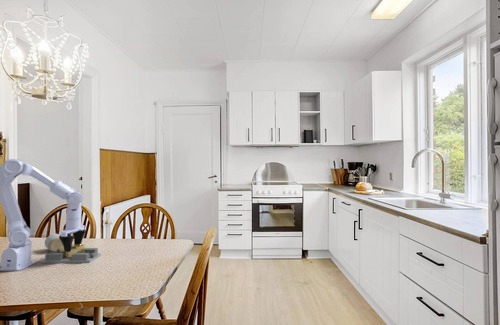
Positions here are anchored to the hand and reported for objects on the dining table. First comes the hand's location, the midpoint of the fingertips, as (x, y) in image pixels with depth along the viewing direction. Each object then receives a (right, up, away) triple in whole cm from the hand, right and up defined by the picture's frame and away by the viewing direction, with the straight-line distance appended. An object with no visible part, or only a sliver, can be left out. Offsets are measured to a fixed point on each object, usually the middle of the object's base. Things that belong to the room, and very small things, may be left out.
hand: (72, 249), depth 123 cm
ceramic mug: (-16, -5, +13) cm, 21 cm away
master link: (0, -3, 0) cm, 3 cm away
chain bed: (0, -4, 0) cm, 4 cm away
